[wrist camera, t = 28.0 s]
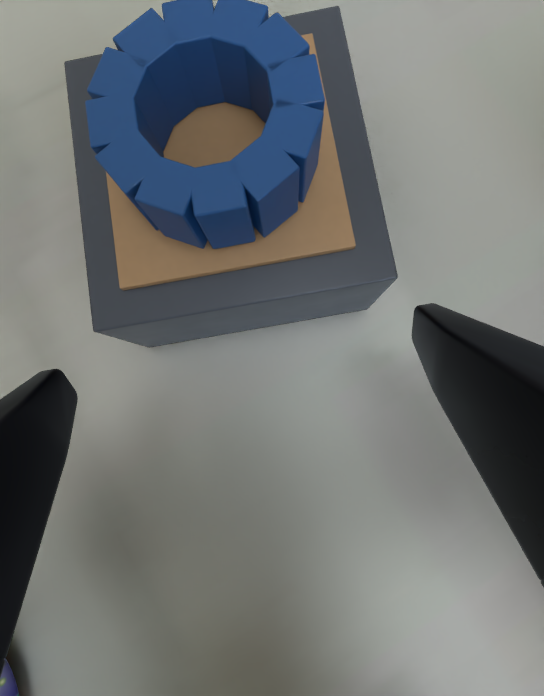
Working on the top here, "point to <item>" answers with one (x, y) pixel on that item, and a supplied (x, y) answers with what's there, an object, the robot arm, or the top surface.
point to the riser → (264, 253)
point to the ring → (202, 90)
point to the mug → (8, 682)
